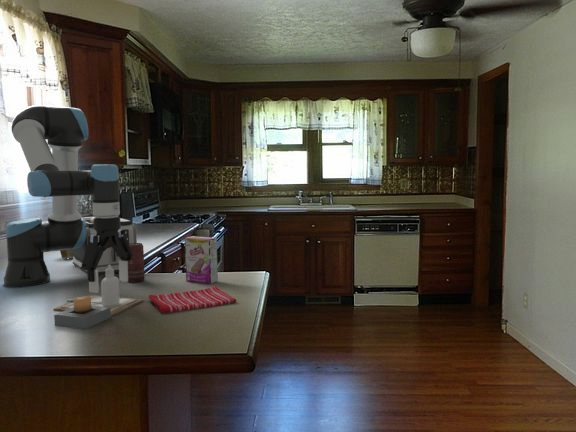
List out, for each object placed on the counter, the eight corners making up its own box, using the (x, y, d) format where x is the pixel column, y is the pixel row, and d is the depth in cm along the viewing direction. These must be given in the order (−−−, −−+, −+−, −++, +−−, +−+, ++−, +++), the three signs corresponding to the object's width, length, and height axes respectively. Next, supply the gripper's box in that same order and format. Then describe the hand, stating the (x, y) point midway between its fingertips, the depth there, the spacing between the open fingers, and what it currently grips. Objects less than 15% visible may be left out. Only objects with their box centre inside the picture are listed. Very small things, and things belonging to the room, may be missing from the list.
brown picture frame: (49, 310, 142) (49, 306, 142) (87, 296, 158) (87, 292, 158) (110, 316, 136) (110, 312, 136) (143, 301, 151) (143, 297, 151)
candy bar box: (185, 281, 177) (184, 237, 175) (193, 278, 182) (192, 235, 180) (210, 284, 172) (209, 239, 171) (218, 281, 177) (217, 237, 175)
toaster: (91, 277, 185) (88, 225, 183) (70, 263, 213) (68, 218, 211) (140, 271, 196) (138, 221, 194) (115, 258, 224) (113, 215, 222)
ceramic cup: (83, 258, 225) (82, 237, 224) (59, 260, 219) (58, 239, 218) (77, 254, 236) (76, 234, 235) (55, 256, 230) (54, 236, 229)
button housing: (54, 325, 128) (54, 314, 128) (81, 314, 138) (81, 304, 137) (85, 329, 125) (84, 317, 125) (110, 317, 135) (110, 307, 134)
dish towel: (147, 302, 152) (146, 293, 152) (218, 292, 163) (217, 284, 163) (160, 316, 137) (159, 307, 137) (237, 304, 148) (236, 296, 148)
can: (140, 283, 175) (138, 245, 174) (124, 282, 176) (122, 244, 175) (148, 279, 181) (146, 242, 180) (132, 278, 182) (131, 242, 181)
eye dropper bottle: (99, 304, 145) (97, 264, 144) (117, 300, 149) (116, 262, 148) (103, 307, 142) (102, 267, 141) (122, 304, 145) (121, 264, 144)
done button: (70, 310, 130) (69, 299, 129) (81, 306, 134) (81, 295, 134) (83, 312, 128) (83, 301, 128) (95, 307, 133) (94, 296, 132)
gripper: (87, 221, 130) (91, 298, 132) (142, 212, 153) (144, 277, 156) (65, 220, 132) (68, 296, 134) (122, 211, 156) (125, 276, 158)
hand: (109, 286), depth 145 cm, fingers open, 13 cm apart
